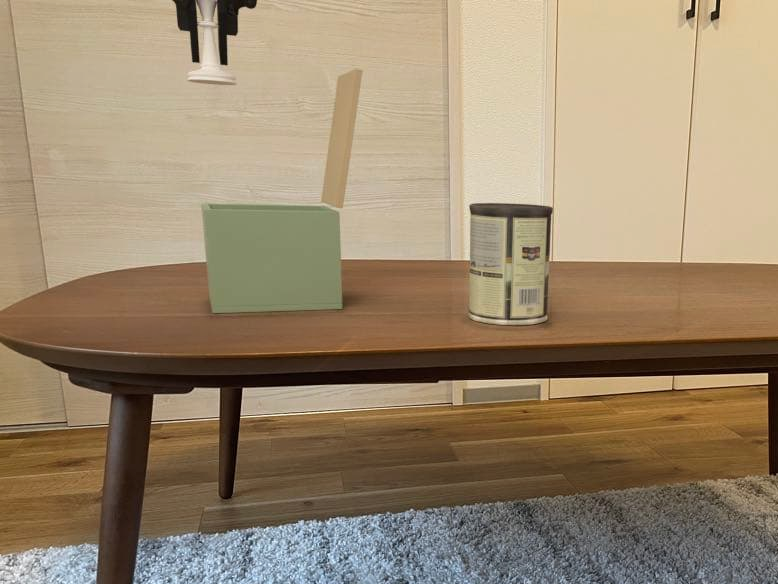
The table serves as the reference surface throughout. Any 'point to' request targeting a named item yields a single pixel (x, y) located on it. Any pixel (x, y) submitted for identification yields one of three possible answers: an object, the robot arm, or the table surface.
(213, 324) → the table surface
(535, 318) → the coffee can
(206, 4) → the chess piece
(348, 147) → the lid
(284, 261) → the chest
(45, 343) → the table surface
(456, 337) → the table surface
